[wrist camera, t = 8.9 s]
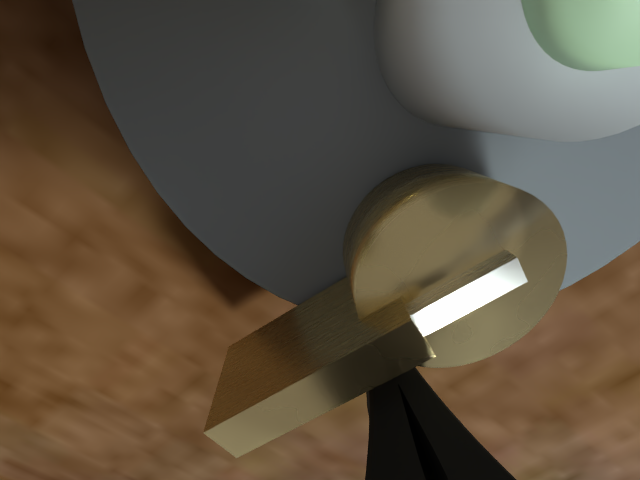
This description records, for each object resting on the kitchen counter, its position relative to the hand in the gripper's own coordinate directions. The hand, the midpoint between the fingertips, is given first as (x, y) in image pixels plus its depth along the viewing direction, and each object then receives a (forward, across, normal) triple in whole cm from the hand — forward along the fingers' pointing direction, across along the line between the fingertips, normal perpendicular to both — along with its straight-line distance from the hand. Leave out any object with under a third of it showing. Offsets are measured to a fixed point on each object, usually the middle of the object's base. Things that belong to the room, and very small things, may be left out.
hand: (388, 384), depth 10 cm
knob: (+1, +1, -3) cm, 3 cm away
